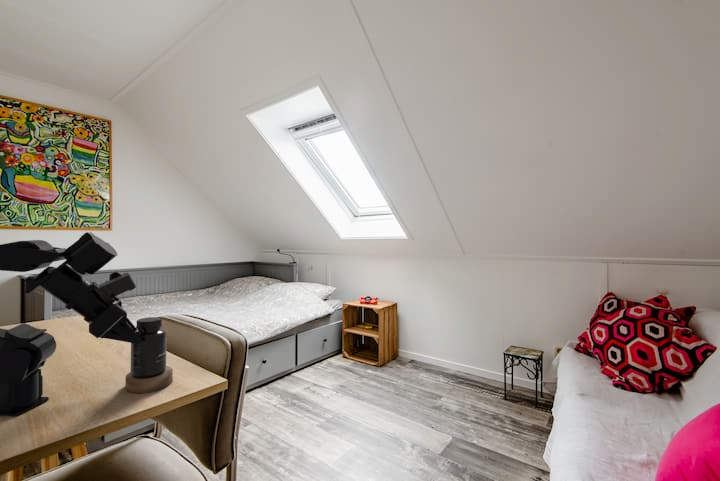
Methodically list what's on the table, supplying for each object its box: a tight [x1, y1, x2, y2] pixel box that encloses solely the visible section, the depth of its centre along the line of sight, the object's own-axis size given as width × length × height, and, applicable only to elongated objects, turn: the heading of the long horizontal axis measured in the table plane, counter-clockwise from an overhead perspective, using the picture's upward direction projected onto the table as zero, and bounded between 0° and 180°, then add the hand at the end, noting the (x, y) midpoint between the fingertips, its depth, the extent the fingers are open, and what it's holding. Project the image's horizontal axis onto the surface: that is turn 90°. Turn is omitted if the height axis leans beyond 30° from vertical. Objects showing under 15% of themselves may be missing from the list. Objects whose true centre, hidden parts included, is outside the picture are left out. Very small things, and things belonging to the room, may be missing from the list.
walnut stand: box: [124, 365, 174, 394], centre depth 80 cm, size 9×9×2 cm
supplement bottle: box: [130, 316, 168, 379], centre depth 79 cm, size 7×7×12 cm
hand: (138, 336), depth 79 cm, fingers open, 9 cm apart
